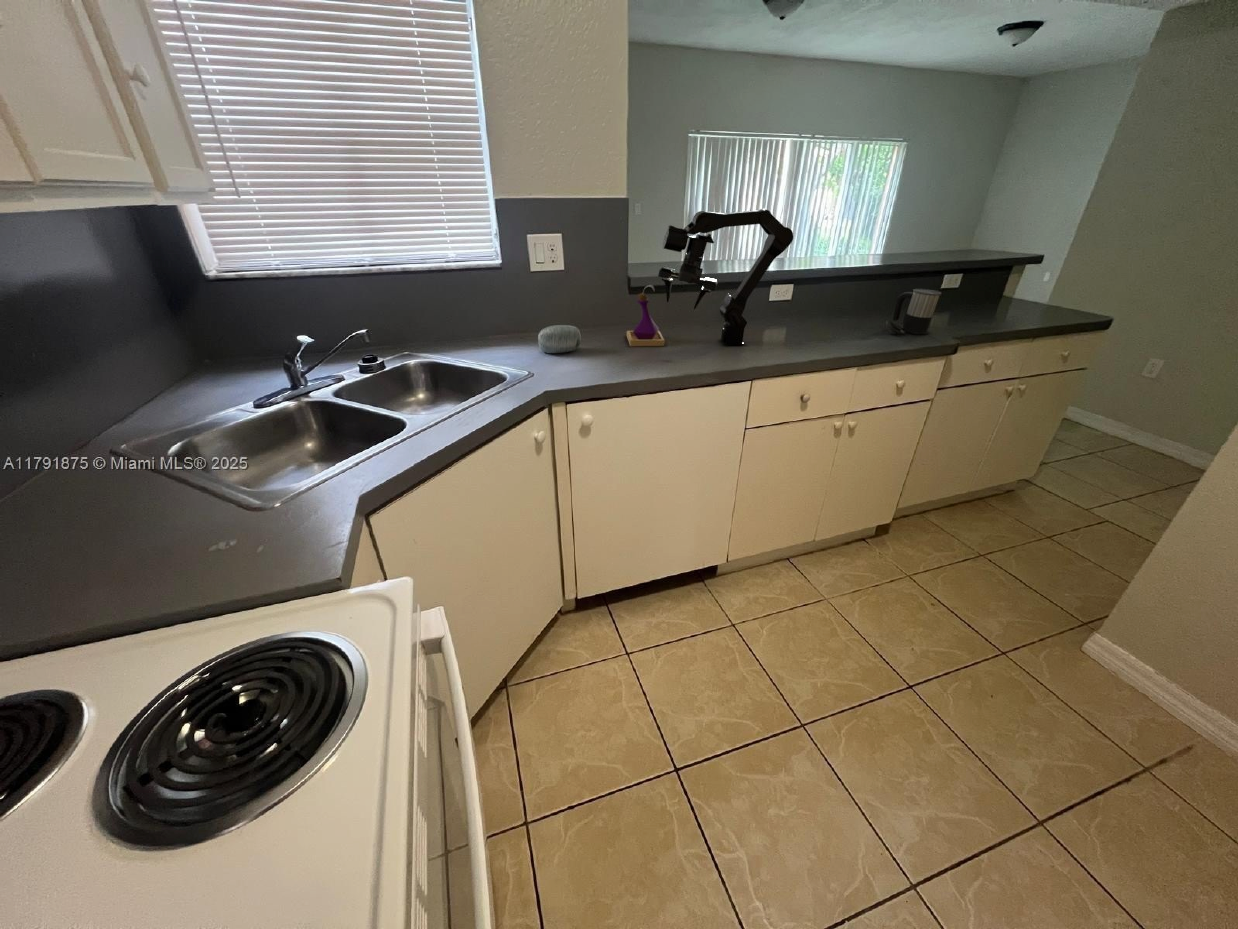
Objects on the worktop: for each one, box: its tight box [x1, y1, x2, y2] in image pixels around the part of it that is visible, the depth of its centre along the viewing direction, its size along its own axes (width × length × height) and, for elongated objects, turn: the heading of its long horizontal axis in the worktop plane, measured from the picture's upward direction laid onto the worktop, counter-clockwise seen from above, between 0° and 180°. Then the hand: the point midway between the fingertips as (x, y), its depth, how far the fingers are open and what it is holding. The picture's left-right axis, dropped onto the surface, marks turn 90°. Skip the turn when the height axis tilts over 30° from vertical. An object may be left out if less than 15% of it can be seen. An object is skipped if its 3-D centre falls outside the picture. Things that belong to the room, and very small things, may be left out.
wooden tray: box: [626, 330, 666, 347], centre depth 167 cm, size 12×12×2 cm
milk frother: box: [886, 288, 942, 335], centre depth 180 cm, size 14×16×15 cm
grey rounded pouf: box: [537, 324, 582, 354], centre depth 154 cm, size 14×10×10 cm
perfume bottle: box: [632, 284, 660, 340], centre depth 163 cm, size 8×8×18 cm
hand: (680, 305), depth 160 cm, fingers open, 9 cm apart
